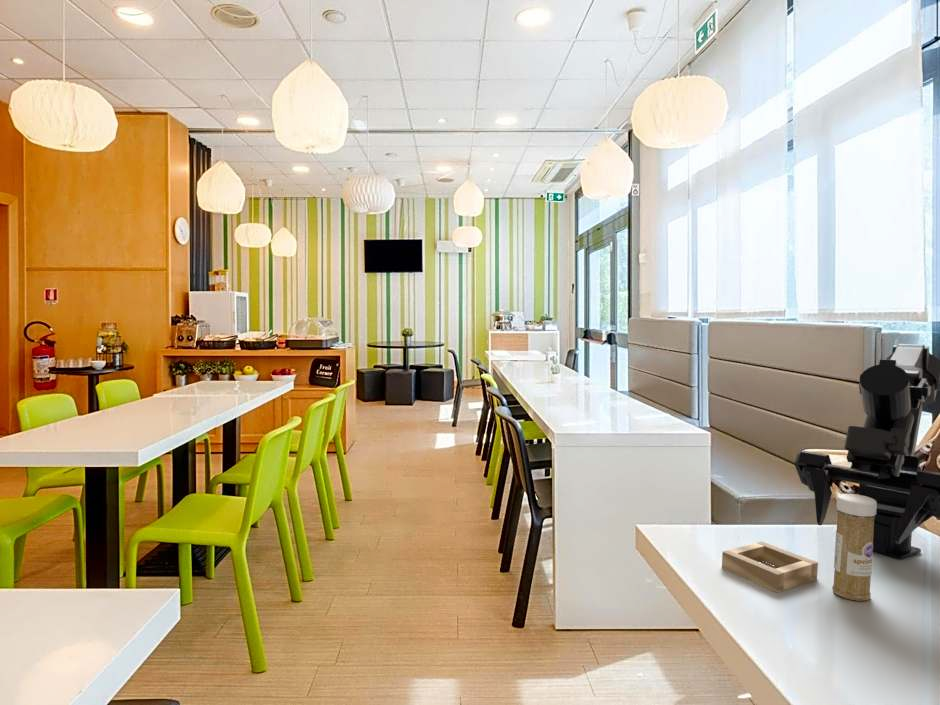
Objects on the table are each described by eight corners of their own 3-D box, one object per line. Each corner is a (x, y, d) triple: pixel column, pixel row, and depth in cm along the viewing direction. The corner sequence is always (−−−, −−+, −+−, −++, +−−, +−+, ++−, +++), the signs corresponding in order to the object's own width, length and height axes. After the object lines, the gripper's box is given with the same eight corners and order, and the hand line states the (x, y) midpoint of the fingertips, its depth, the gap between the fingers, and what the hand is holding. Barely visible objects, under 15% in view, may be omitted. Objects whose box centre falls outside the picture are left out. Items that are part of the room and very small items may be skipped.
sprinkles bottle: (863, 605, 82) (869, 504, 81) (826, 593, 86) (831, 496, 85) (875, 595, 85) (882, 498, 84) (839, 583, 89) (844, 490, 88)
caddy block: (761, 557, 98) (762, 541, 98) (817, 579, 90) (818, 562, 90) (721, 568, 94) (722, 551, 93) (776, 592, 86) (777, 574, 86)
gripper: (802, 396, 93) (769, 484, 86) (960, 413, 80) (936, 518, 73) (817, 441, 99) (787, 526, 92) (966, 463, 86) (945, 565, 79)
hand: (856, 532), depth 84 cm, fingers open, 9 cm apart
